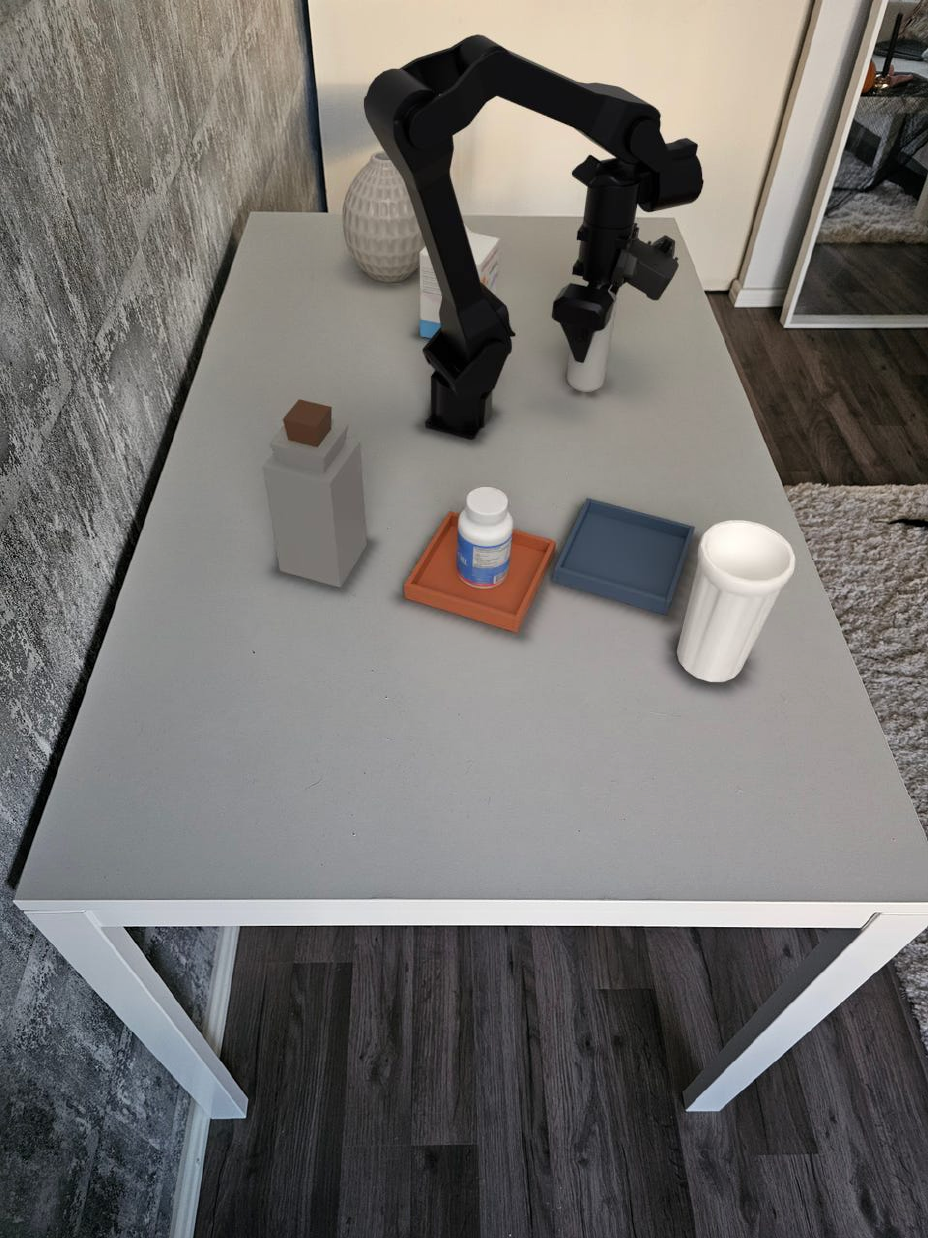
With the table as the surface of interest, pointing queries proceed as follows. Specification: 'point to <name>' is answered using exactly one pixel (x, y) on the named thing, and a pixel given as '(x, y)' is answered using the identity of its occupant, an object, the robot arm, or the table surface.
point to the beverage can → (593, 359)
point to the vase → (381, 222)
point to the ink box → (430, 294)
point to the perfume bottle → (316, 495)
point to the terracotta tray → (494, 605)
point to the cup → (732, 596)
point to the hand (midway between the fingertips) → (590, 343)
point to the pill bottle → (484, 538)
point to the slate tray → (624, 555)
